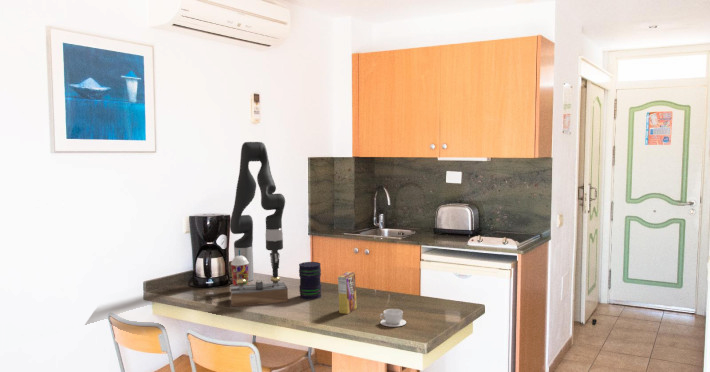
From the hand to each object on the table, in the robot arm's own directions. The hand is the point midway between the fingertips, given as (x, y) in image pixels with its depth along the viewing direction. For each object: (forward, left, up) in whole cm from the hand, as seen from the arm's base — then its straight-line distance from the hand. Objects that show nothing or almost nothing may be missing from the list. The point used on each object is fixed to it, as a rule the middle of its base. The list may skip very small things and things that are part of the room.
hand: (275, 277), depth 255 cm
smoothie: (-18, -15, -10) cm, 25 cm away
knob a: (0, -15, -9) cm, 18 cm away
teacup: (+48, +39, -10) cm, 63 cm away
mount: (0, -8, -10) cm, 12 cm away
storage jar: (+1, +15, -10) cm, 19 cm away
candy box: (+27, +26, -10) cm, 39 cm away
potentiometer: (+4, -8, -4) cm, 9 cm away
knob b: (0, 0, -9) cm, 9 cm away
